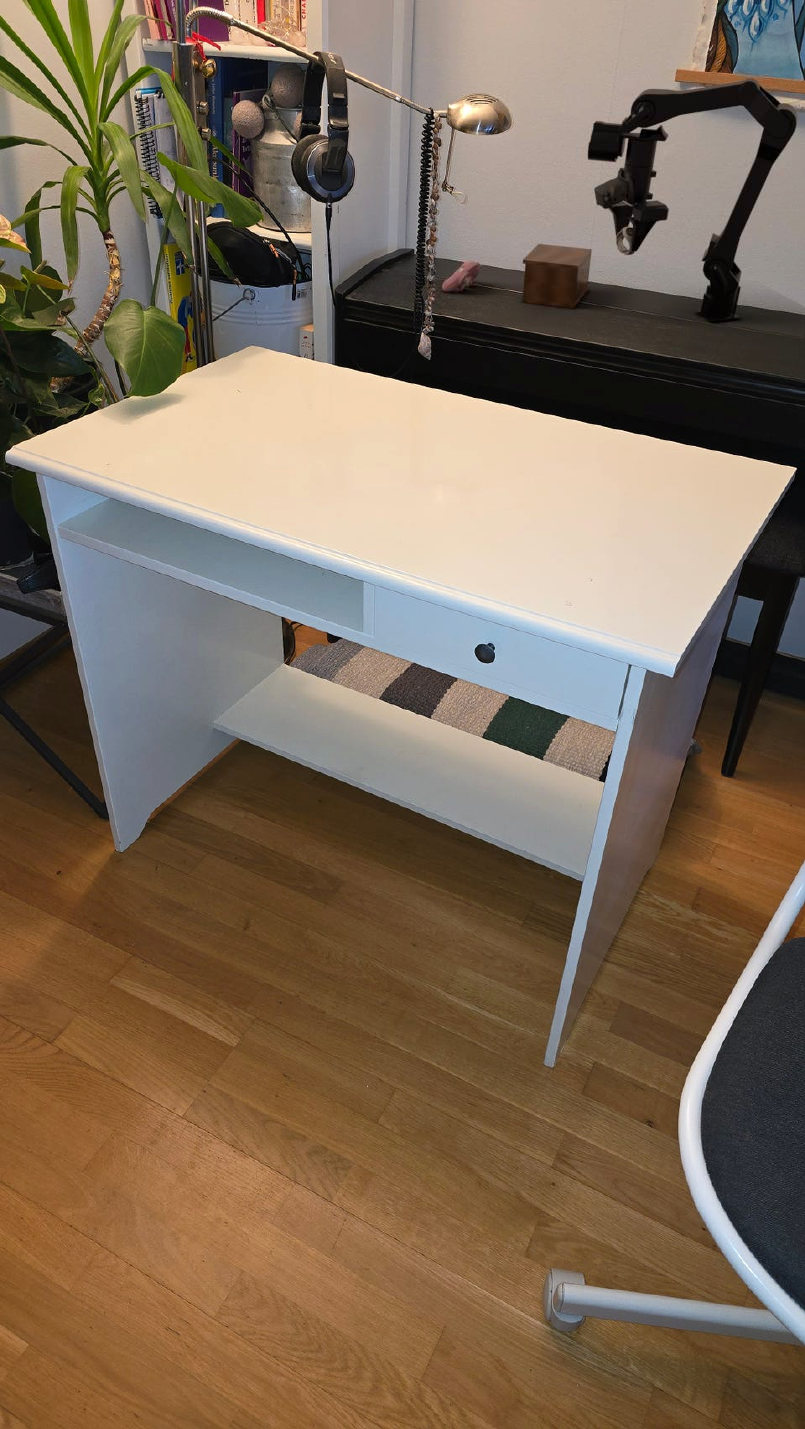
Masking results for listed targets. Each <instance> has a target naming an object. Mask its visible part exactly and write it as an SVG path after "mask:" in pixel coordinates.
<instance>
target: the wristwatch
mask: <svg viewBox="0 0 805 1429" xmlns="http://www.w3.org/2000/svg"><path fill="white" fill-rule="evenodd" d="M632 231H633V226H632V227H631V226H628V227H625V228H623V229H622V230H621V231H620V232H619V233H618V234H617V237H616V236H615V244H616V248H617V250H618V251H619V252H620V253H621V254H623V255H625V256H631V255H632V256H633V255H634V254H635V252H633V251H632ZM623 236H624V239H625V240H626V241H627V243H628V248H627V247H626V246H625V244H624V242H623V241H624V239H623V240H622V238H623Z"/></svg>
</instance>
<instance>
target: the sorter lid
mask: <svg viewBox="0 0 805 1429" xmlns="http://www.w3.org/2000/svg"><path fill="white" fill-rule="evenodd" d="M592 252H593V249H591V248H582V247H575V246H573V247H572V246H565V245H554V244H546V243H545V244H544V243H537V244H536V245H535V247H534V248H533V249H532V250H530V252H529V253H528V254H527V255H526V256H525V257H524V258H523V259H522V264H523V265H525V264H531V265H540V266H549V267H558V268H567V269H576V270H578V269H579V268H580V266H581V265H582V264H583V263H584V262H585V260H586V259H587V258H588V257H589V255H590V254H591V255H592Z"/></svg>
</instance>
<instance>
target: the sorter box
mask: <svg viewBox="0 0 805 1429" xmlns="http://www.w3.org/2000/svg"><path fill="white" fill-rule="evenodd" d="M591 260H592V253H591V254H590V255H589V257H588V258H587V259H586V260H585V262H584V263H583V264H582V265H581V266H580V268H579V269H578V270H576V269H567V268H558V267H549V266H540V265H531V264H524V275H523V276H524V277H523V288H522V290H523V291H522V303H526V304H527V303H528V304H535V305H543V306H544V305H545V306H552V307H560V308H567V309H575V307H576V306H577V305H578V303H579V302H580V301H581V299H582V298H583V297H584V296H585V294H586V293H587V292H588V287H589V277H590V268H591Z"/></svg>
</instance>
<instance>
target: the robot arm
mask: <svg viewBox="0 0 805 1429" xmlns="http://www.w3.org/2000/svg"><path fill="white" fill-rule="evenodd" d="M740 106H741V107H743V108H744V109H746V111H747V112H748V113H749V114H750V115H751V116H752V117H753V119H754V120H755V121H756V123H758V124H759V125H760V126H761V127H762V128H763V129H762V132H761V136H760V140H759V144H758V148H757V152H756V155H755V158H754V159H753V162H752V165H751V166H750V169H749V171H748V173H747V176H746V178H745V180H744V182H743V185H742V188H741V190H740V191H739V194H738V197H737V199H736V201H735V203H734V206H733V208H732V210H731V213H730V215H729V216H728V219H727V222H726V224H725V226H724V228H723V229H722V230H721V231H720V234H719V235H718V234H716V233H714V232H713V233H712V234H711V238H710V240H709V245H708V247H707V248H706V249H705V251H704V253H703V256H702V259H701V262H703V265H702V273H703V275H704V277H705V278H706V279H707V280H708V281H709V284H707V285H706V291H705V293H704V294H703V296H702V297H703V298H702V303H701V308H700V309H698V310H697V314H698V315H700V316H702V317H703V318H705V319H707V320H709V321H710V322H712V323H719V322H727V321H734V320H739V319H740V316H739V315H738V314H736V311H737V307H738V303H739V298H740V293H741V290H742V286H740V283H741V282H740V281H741V277H742V270H741V269H740V268H739V266H738V264H737V263H736V261H735V258H736V255H737V252H738V247H739V243H740V240H741V236H742V235H743V232H744V230H745V228H746V225H747V223H748V221H749V219H750V216H751V214H752V212H753V210H754V208H755V205H756V204H757V201H758V199H759V197H760V195H761V192H762V190H763V188H764V186H765V183H766V181H767V179H768V176H769V174H770V172H771V170H772V168H773V166H774V164H775V163H776V162H777V160H778V158H779V157H780V156H781V154H782V153H783V151H784V150H785V149H786V146H788V144H789V142H790V140H791V139H792V138H793V136H794V134H795V133H796V129H797V126H798V112H797V110H796V109H795V107H794V106H793V105H791V104H789V103H786V102H785V103H784V102H782V103H781V102H780V101H779V99H777V98H776V97H775V96H774V95H772V94H771V93H770V92H769V91H768V90H766V89H765V88H764V87H763V86H762V85H761V84H760V83H759V81H758V80H756V79H755V78H750V77H749V78H746V79H743V80H740V81H733V82H728V83H722V84H721V83H720V84H716V85H710V86H709V85H708V86H703V87H697V88H691V89H686V90H676V89H668V88H648V89H644V90H643V91H642V92H640V93H639V95H638V96H636V98H635V100H634V101H633V102H632V105H631V107H630V114H629V115H628V116H627V117H625V118H624V119H623V120H622V121H621V123H615V122H605V121H602V120H595V121H594V123H593V125H592V131H591V134H590V140H589V142H588V144H587V145H588V146H587V160H588V161H597V162H608V163H610V162H611V163H617V161H618V159H619V158H622V157H623V156H624V153H625V158H624V165H623V167H619V169H618V170H617V175H616V177H615V178H614V177H613V178H612V179H609V180H607V181H605V182H603V183H601V184H600V185H597V186H595V187H594V188H593V190H594V197H595V202H596V205H597V206H600V207H602V209H604V210H607V209H608V210H609V212H610V213H611V214H612V219H613V224H614V231H615V238H616V237H617V234H618V233H619V232H620V231H621V230H622V229H623V228H625V227H630V223H631V224H632V228H633V231H632V251H633V252H634V253H636V252H638V250H639V249H640V247H641V245H642V244H643V242H644V241H645V239H646V238H647V236H648V235H649V233H650V232H651V230H652V229H653V227H654V226H655V225H656V223H658V222H660V221H667V220H668V217H669V211H670V208H669V207H668V206H667V204H665V203H663V202H662V201H659V200H653V197H654V194H653V193H652V192H650V190H651V182H652V178H656V177H657V173H658V172H657V170H654V164H655V159H656V151H657V145H658V142H666V141H667V139H668V137H669V134H668V133H667V132H666V130H665V129H664V127H663V125H662V123H665V122H667V121H669V120H672V119H674V118H677V117H680V116H682V115H683V116H684V115H689V114H696V113H697V114H698V113H703V112H710V111H715V110H722V109H729V108H734V107H735V108H736V107H740ZM659 124H661V125H659ZM656 125H659V126H658V127H657V128H656V129H655V128H654V129H652V128H651V127H653V126H656ZM639 128H640V132H634V131H635V130H636V129H639ZM626 140H627V145H626ZM625 147H626V152H625ZM624 239H625V237H624V236H623V238H622V240H623V241H624Z"/></svg>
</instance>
